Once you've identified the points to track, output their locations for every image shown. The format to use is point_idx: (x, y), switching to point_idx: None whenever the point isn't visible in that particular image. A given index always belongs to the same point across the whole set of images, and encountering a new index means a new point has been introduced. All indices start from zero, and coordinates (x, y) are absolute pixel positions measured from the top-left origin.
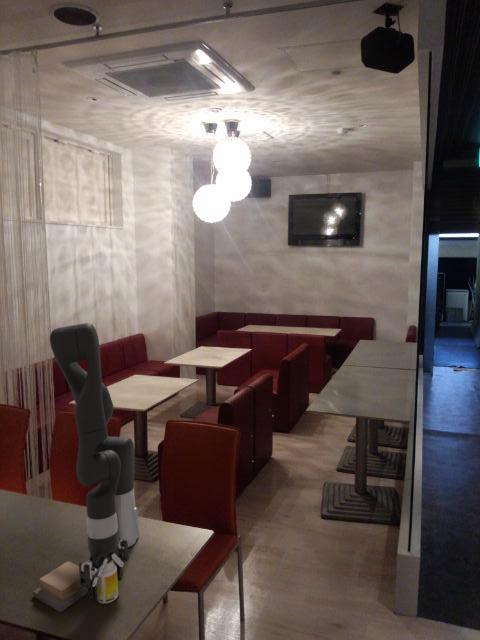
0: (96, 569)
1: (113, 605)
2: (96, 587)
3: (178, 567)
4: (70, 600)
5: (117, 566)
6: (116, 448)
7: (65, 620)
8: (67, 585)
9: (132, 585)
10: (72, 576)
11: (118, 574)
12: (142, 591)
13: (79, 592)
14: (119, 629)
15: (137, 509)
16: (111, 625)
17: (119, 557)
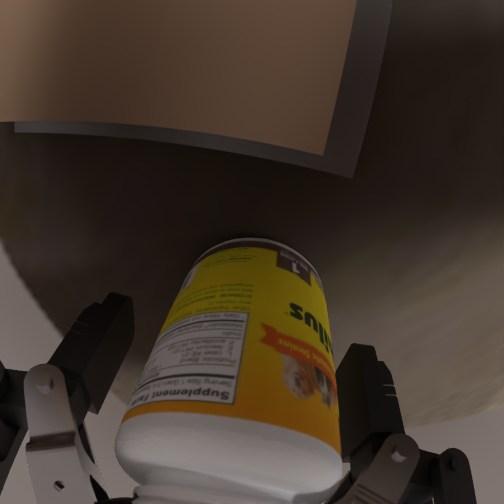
0: (145, 461)
1: None
2: (100, 398)
3: (482, 407)
4: (75, 133)
5: (360, 454)
6: None
7: (26, 194)
8: (23, 99)
9: (383, 349)
10: (141, 9)
11: (344, 406)
12: None
13: (152, 134)
14: None
15: None
16: (126, 374)
17: (422, 485)
